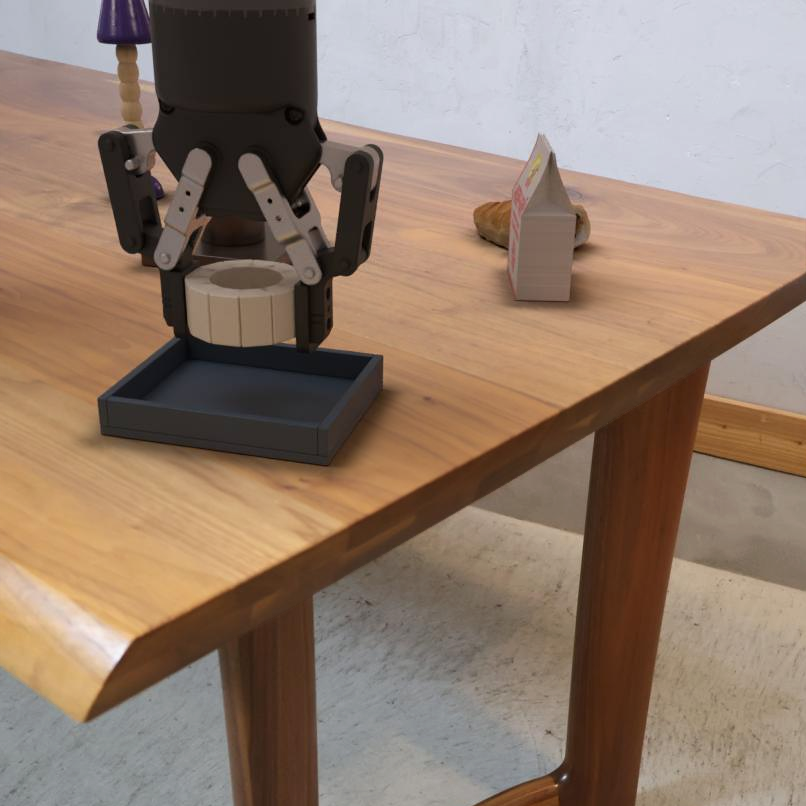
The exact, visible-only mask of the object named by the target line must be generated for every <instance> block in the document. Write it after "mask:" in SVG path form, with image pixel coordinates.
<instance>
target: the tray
mask: <svg viewBox="0 0 806 806" xmlns="http://www.w3.org/2000/svg"><path fill="white" fill-rule="evenodd" d="M383 388H384V354H379V353H369V352H362V351H354V350H353V351H352V350H345V349H337V348H328V347H321V346H319V347H318V348H317V349H316V350H315V351H314V352H313V353H312V354H306V353H298V352H297V350H296V343H287V342H280V343H277V344H272V345H265V346H252V347H242V346H241V347H235V346H227V345H218V344H213V343H208V342H206V341H203V340H201V339H199V338H197V337H192V338H191V339H180V338H176V337H175V336H173V337H172V338H171V339H169V340H168V341H167V342H166V343H165V344H164V345H162V346H161V347H160V348H158V349H157V350H156V351H154V352H153V353H152V354H150V355H149V357H147V358H146V359H144V360H143V361H142V362H141V363H139V364H138V365H137V366H136V367H134V368H133V369H132V370H131V371H130V372H128V373H127V374H126V375H125V376H123V377H122V378H121V379H119V380H118V381H117V382H116V383H114V384H113V385H112V386H110V387H109V388H108V389H107V390H106V391H104V392H103V393H101V395H99V396H98V397H97V398H96V403H97V409H98V419H99V425H100V426H99V428H100V429H99V430H100V434H101V435H105V436H112V437H113V436H114V437H120V438H128V439H134V440H141V441H148V442H155V443H156V442H157V443H162V444H170V445H177V446H183V447H191V448H197V449H206V450H212V451H219V452H227V453H234V454H240V455H247V456H255V457H263V458H269V459H277V460H285V461H293V462H299V463H306V464H313V465H320V466H325V467H326V466H329V464H330V463H331V462H332V460H333V459H334V457H335V456H336V455H337V453H338V452H339V450H340V449H341V448H342V446H343V445H344V443H345V442H346V440H347V439H348V437H349V436H350V435H351V433H352V432H353V431H354V429H355V428H356V426H357V425H358V424H359V422H360V421H361V419H362V418H363V416H364V415H365V414H366V412H367V411H368V410H369V408H370V407H371V405H372V404H373V402H374V401H375V400H376V398H377V397H378V396H379V394H380V393H381V391H382V390H383Z"/></svg>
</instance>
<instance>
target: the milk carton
mask: <svg viewBox="0 0 806 806" xmlns="http://www.w3.org/2000/svg"><path fill="white" fill-rule="evenodd" d="M556 155H557V154H556V152H555V150H554V149H553V147H552V145H551V143H550V142H549V139H548V138H547V137H546V134H545V133H544V132H543V134H542V133H540V132H538V133H537V137H536V140H535V144H534V146H533V149H532V151H531V154H530V155H529V158H528V160H527V162H526V163H525V165H524V166H523V169H522V171H521V173H520V175H519V176H518V178H517V180H516V182H515V184H514V186H513V187H512V189H511V200H512V201H511V218H510V234H509V249H508V250H507V251H508V252H507V269H506V270H507V274H508V278H509V281H510V285H511V289H512V292H513V295H514V299H515V301H539V302H540V301H543V302H544V301H545V302H570V295H571V293H570V292H571V282H572V272H573V259H574V249H575V248H574V238H575V227H576V214H575V212H574V209H573V207H572V204H573V203H572V202H571V200H570V197H569V195H568V193H567V190H566V188H565V185H564V182H563V180H562V176H561V173H560V171H559V167H558V163H557V156H556Z"/></svg>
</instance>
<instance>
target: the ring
mask: <svg viewBox="0 0 806 806" xmlns="http://www.w3.org/2000/svg"><path fill="white" fill-rule="evenodd" d="M184 279H185V293H186V307H187V321H188V327H189V330H190V333H191V334H192V335H193V336H194V337H197V338H199V339H201V340H203V341H206V342H208V343H213V344H218V345H227V346H235V347H241V346H242V347H252V346H265V345H272V344H277V343H284V342H286V341H290V340H293V339H296V328H295V295H294V285H295V284H296V283H297V282H298V281H299V280H300V278H299V276H298V274H297V272H296V270H295V268H294V266H293V265H292V264H290V265H288V264H285V263H279V262H272V261H262V260H253V261H252V260H251V259H250V260H233V261H224V262H217V263H213V264H209V265H205V266H201V267H199V268H196V269H195V270H193V271H192V272H190V273H189V274H188V275H186V276H185V278H184Z"/></svg>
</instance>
